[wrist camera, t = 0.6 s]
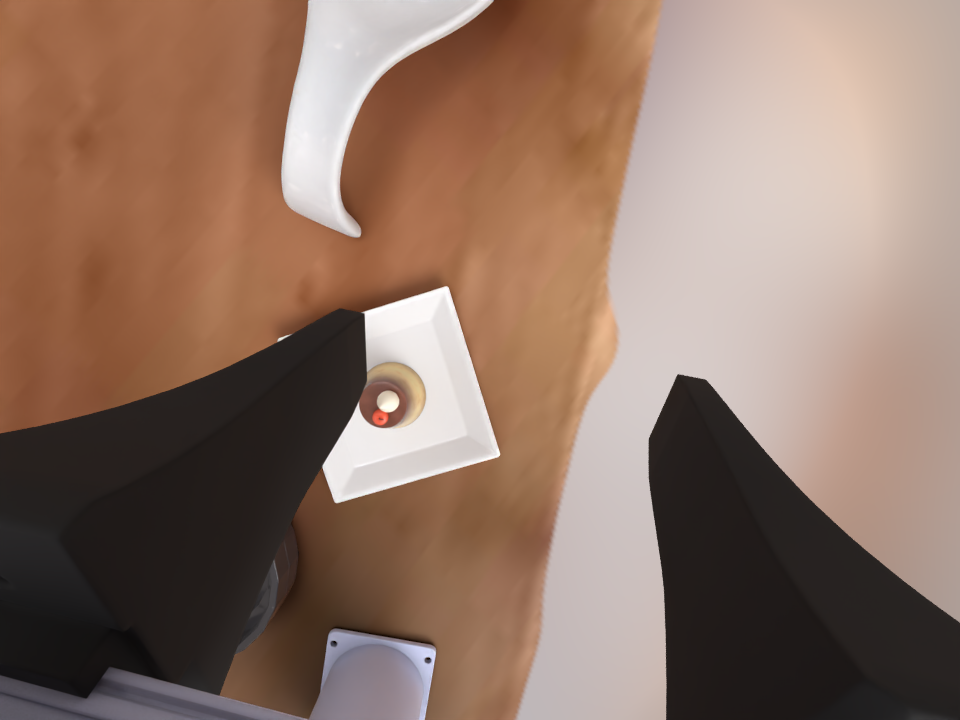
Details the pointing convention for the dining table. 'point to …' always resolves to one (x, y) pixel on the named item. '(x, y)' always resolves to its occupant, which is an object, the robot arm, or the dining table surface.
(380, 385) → the dessert
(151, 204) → the dining table surface
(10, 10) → the dining table surface
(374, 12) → the spoon rest
